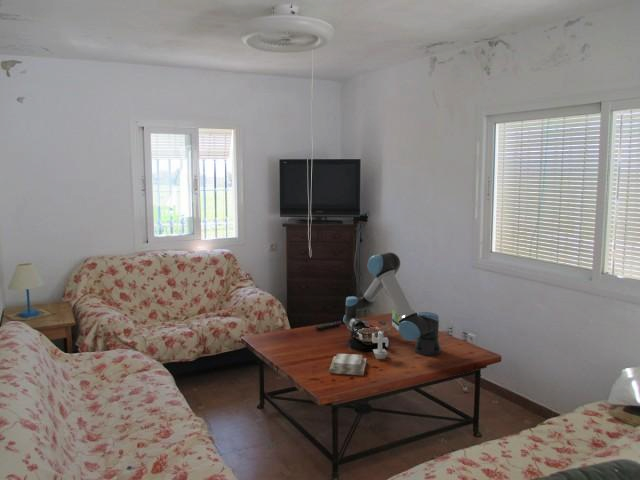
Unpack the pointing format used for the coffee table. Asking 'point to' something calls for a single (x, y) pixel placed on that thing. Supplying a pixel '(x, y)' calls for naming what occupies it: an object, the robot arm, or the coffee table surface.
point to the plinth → (346, 370)
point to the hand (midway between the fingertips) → (372, 336)
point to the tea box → (395, 318)
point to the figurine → (380, 345)
